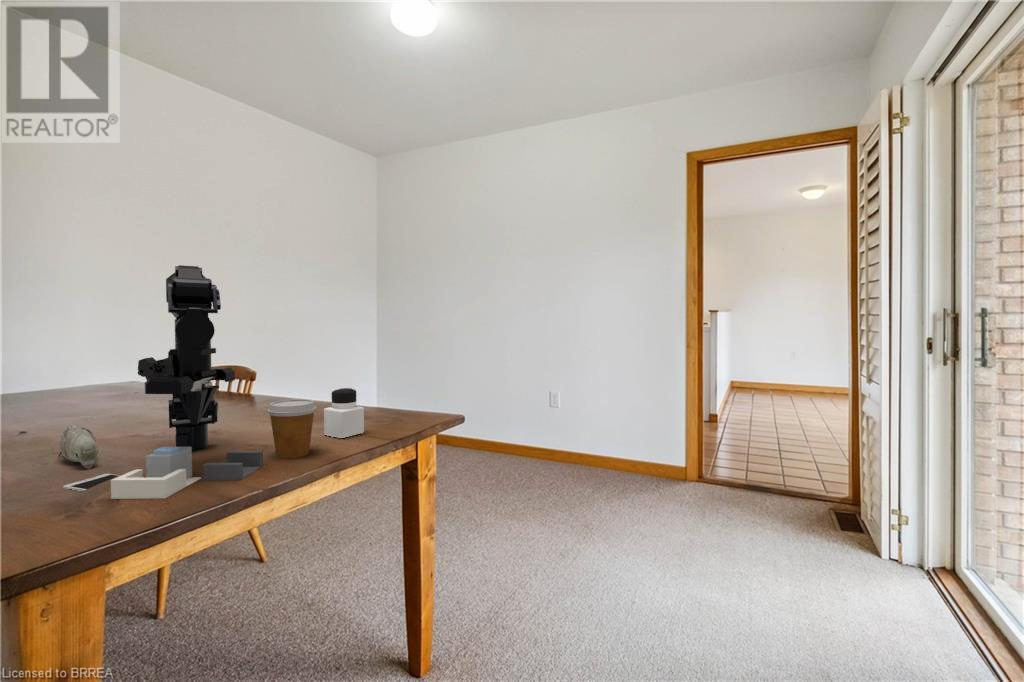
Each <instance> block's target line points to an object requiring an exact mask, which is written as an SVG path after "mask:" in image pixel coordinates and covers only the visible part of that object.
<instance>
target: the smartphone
mask: <svg viewBox="0 0 1024 682" xmlns="http://www.w3.org/2000/svg"><path fill="white" fill-rule="evenodd" d="M119 476H121V475H118V474H112V473H103V474H100V475H96V476H94V477H93V476H92V477H89V478H86V479H83V480H79V481H75V482H72V483H68V484H65V485H63V486H62V487H63V488H65V489H64V490H68V489H72V490H71V491H74V490H77V491H76V492H80V491H82V492H84V491H86V490H88V489H91V488H93V487H96V486H98V485H101V484H103V483H105V482H107V481H111V480H112V479H115V478H117V477H119ZM63 488H62V489H63Z"/></svg>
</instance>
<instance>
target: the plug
mask: <svg viewBox="0 0 1024 682" xmlns="http://www.w3.org/2000/svg"><path fill="white" fill-rule="evenodd" d="M152 452H153V453H150V454H148V455H145V478H149V477H164V476H166V475H168V474H170V473H172V472H174V471H176V470H178V469H186V479H188V478H193V452H192V447H176V446H161V447H159V448H157V449H154V450H153V451H152Z"/></svg>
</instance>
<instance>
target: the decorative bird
mask: <svg viewBox="0 0 1024 682" xmlns="http://www.w3.org/2000/svg"><path fill="white" fill-rule="evenodd" d="M63 426H64V427H63V428H64V431H63V432H62V435H61V438H60V441H59V448H60V452H59V454H58V457H57V458H59V457H60V456H61V455H62V456H63V457H64V458H65V459H66V460H68V461H70V462H75V463H76V462H77V463H80V465H82V466H83V467H84V468H85V469H86V470H91V469H92V467H93V466H94V464H95V463H96V459H97V457H98V454H99V449H98V443H97V439H96V437H95V435H94V433H93V432H92V430H90V429H88V428H85V427H82V424H80V423H79V422H76V421H71V420H70V421H67V423H64V424H63Z"/></svg>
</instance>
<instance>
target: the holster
mask: <svg viewBox="0 0 1024 682" xmlns="http://www.w3.org/2000/svg"><path fill="white" fill-rule="evenodd" d="M263 465H264V450H229V451H227V452H226V462H206V463H204V464H202V480H203V481H240V480H242V479H244V478H245V477H247V476H249V475H250V474H252V473H253V472H254V471H256V470H258V469H259V468H261V467H262V466H263Z"/></svg>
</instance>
